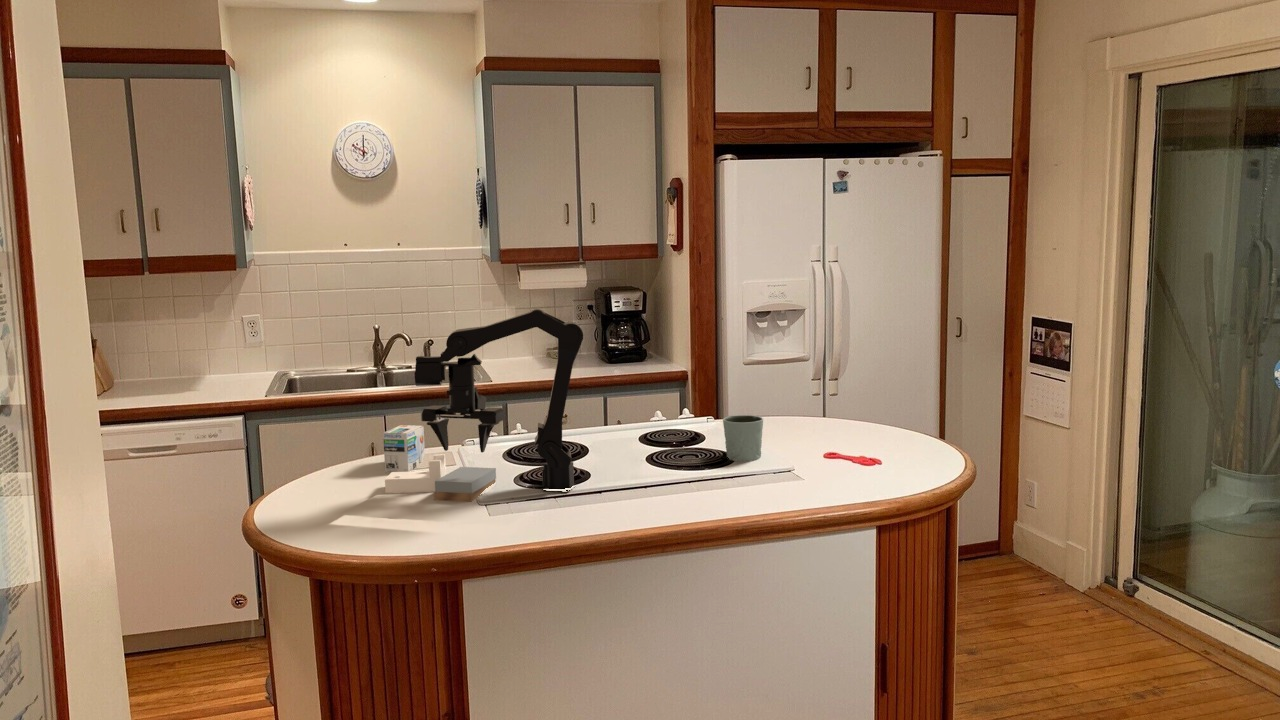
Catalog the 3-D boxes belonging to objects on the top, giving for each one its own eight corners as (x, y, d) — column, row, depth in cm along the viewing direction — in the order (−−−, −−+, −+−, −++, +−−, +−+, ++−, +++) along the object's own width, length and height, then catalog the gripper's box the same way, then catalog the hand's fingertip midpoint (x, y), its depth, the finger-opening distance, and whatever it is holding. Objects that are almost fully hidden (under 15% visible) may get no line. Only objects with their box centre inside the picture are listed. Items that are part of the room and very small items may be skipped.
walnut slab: (495, 488, 233) (495, 478, 232) (470, 504, 219) (470, 493, 219) (461, 487, 235) (460, 477, 235) (434, 502, 222) (433, 491, 221)
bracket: (446, 484, 236) (444, 454, 235) (441, 492, 229) (439, 461, 228) (392, 486, 236) (390, 455, 235) (385, 494, 229) (383, 462, 228)
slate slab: (496, 478, 233) (495, 468, 232) (472, 493, 219) (471, 482, 219) (461, 476, 235) (460, 466, 235) (435, 491, 222) (434, 481, 221)
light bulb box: (408, 475, 246) (406, 433, 244) (384, 474, 247) (381, 432, 246) (426, 465, 256) (424, 424, 255) (402, 464, 257) (400, 424, 256)
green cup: (769, 462, 251) (769, 416, 249) (752, 471, 242) (752, 423, 241) (734, 458, 256) (734, 413, 255) (716, 466, 248) (715, 420, 246)
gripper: (513, 380, 229) (515, 445, 231) (441, 378, 234) (444, 442, 236) (493, 387, 218) (496, 456, 220) (418, 385, 224) (421, 452, 226)
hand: (464, 451), depth 226 cm, fingers open, 9 cm apart
